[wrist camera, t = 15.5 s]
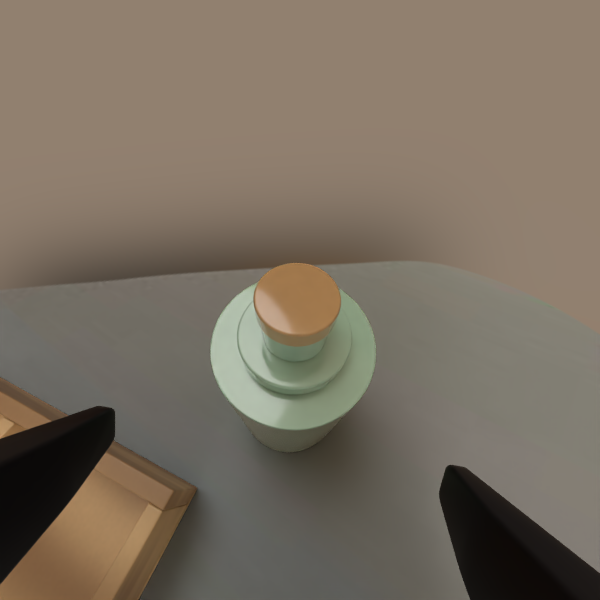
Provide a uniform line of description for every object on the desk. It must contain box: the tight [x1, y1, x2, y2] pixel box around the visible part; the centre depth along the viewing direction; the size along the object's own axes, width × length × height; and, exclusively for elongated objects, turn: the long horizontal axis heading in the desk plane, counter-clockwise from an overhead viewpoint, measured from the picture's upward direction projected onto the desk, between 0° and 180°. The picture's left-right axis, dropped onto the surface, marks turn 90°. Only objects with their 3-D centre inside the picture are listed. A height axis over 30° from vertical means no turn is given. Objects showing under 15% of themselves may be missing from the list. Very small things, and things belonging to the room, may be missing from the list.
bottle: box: [210, 263, 376, 452], centre depth 13 cm, size 6×6×13 cm
